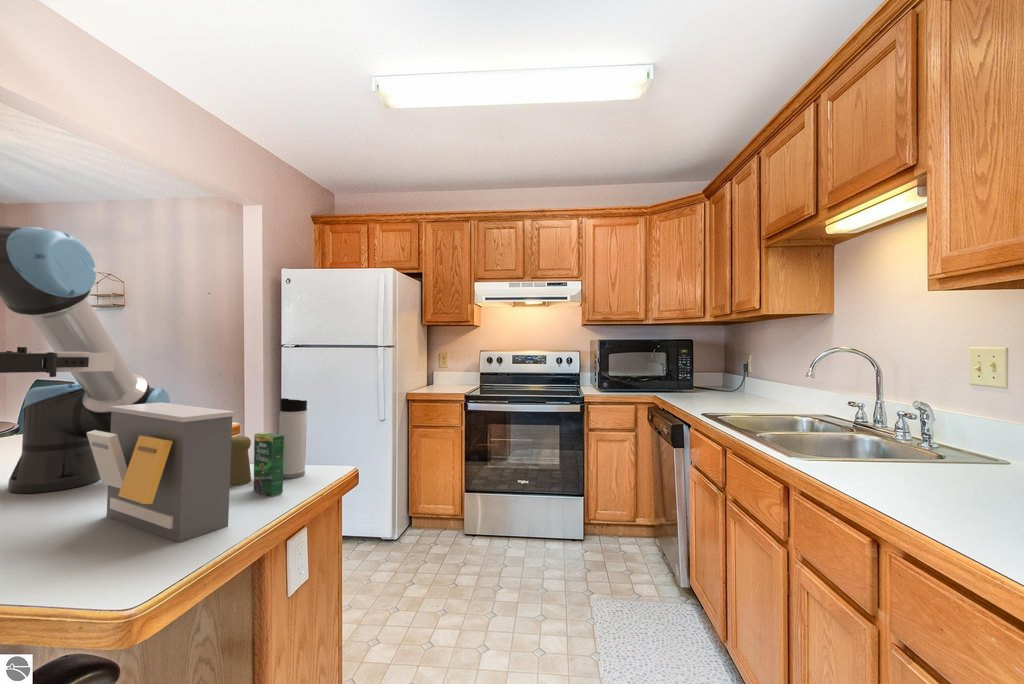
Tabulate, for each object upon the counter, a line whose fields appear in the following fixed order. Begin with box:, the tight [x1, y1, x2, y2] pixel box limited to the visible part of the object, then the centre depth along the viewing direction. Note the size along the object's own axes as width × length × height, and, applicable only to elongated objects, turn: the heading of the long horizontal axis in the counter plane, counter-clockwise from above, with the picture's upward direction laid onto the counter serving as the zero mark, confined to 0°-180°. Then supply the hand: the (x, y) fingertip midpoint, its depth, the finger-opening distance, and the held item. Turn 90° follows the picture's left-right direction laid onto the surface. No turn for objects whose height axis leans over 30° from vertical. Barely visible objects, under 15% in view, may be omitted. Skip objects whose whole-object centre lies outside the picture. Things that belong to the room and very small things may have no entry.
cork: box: [230, 435, 252, 487], centre depth 105 cm, size 6×6×11 cm
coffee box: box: [253, 431, 284, 497], centre depth 99 cm, size 8×3×13 cm, turn 57°
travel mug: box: [278, 397, 308, 480], centre depth 112 cm, size 6×7×20 cm
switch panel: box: [106, 402, 236, 543], centre depth 81 cm, size 9×25×21 cm, turn 64°
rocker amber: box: [118, 435, 173, 504], centre depth 73 cm, size 1×8×10 cm, turn 64°
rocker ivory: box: [87, 430, 127, 489], centre depth 78 cm, size 2×8×10 cm, turn 64°
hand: (100, 361), depth 68 cm, fingers open, 7 cm apart
